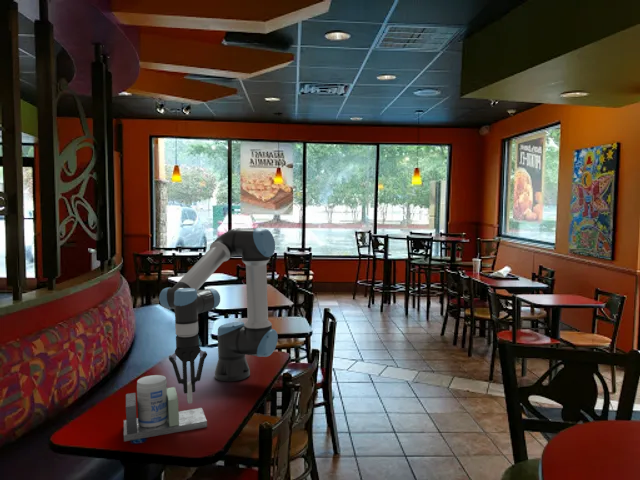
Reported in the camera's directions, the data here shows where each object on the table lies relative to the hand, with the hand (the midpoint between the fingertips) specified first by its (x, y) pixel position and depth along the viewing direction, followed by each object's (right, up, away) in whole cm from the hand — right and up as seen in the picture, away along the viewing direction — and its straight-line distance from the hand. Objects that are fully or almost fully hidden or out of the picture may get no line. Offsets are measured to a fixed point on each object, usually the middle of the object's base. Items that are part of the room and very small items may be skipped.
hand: (189, 401), depth 169 cm
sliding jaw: (-5, -5, -2) cm, 8 cm away
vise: (-8, -8, -3) cm, 11 cm away
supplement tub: (-11, -6, -4) cm, 13 cm away
